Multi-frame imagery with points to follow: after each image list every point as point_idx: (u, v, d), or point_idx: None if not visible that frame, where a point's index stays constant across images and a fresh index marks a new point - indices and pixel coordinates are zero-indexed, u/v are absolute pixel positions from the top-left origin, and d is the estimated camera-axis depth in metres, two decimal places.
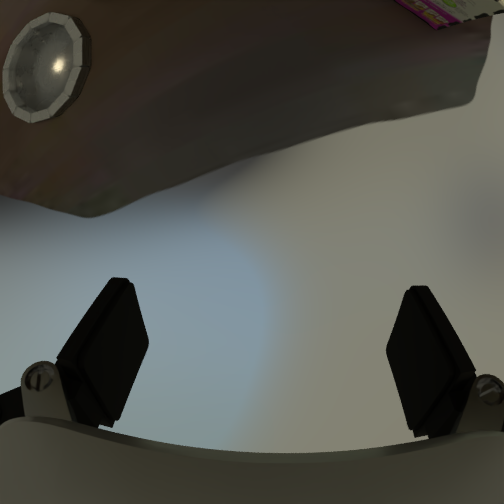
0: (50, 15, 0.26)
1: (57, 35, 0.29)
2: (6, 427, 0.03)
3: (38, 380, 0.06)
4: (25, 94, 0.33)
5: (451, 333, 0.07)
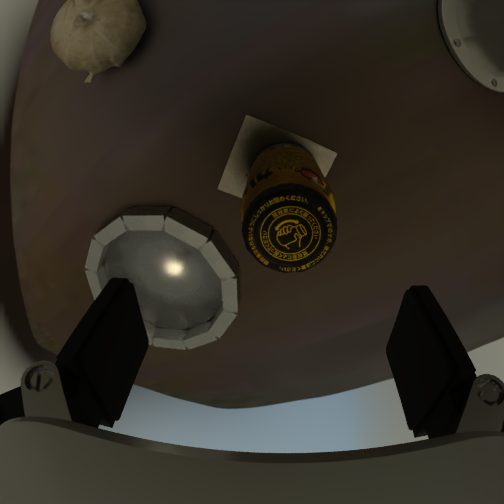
0: (167, 222, 0.27)
1: (179, 246, 0.30)
2: (6, 427, 0.03)
3: (38, 380, 0.06)
4: None
5: (451, 333, 0.07)
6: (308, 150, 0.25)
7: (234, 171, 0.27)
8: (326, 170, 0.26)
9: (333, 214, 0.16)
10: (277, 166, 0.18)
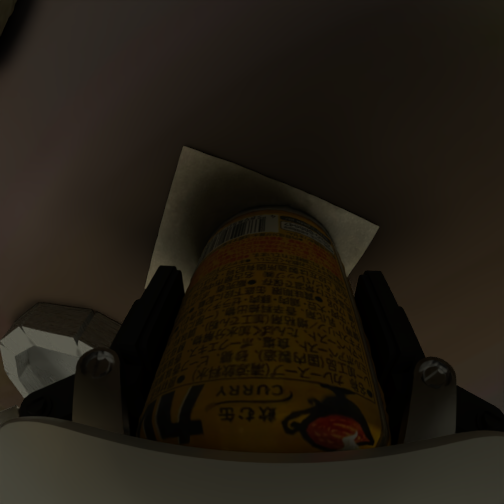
0: (81, 348, 0.14)
1: None
2: (6, 427, 0.03)
3: (95, 367, 0.07)
4: None
5: (397, 315, 0.08)
6: (320, 221, 0.12)
7: (170, 260, 0.14)
8: (354, 259, 0.13)
9: None
10: (220, 401, 0.05)
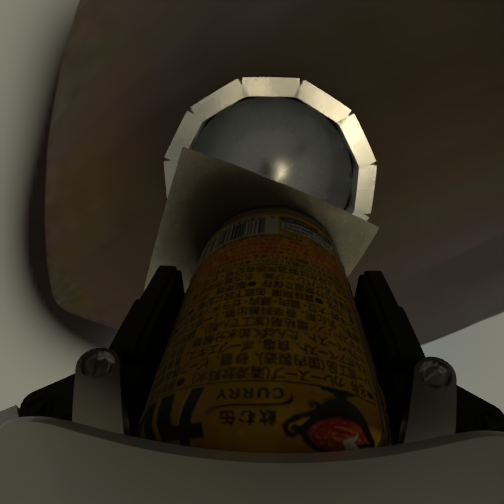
0: (303, 87, 0.20)
1: (303, 127, 0.23)
2: (6, 427, 0.03)
3: (95, 367, 0.07)
4: None
5: (397, 315, 0.08)
6: (320, 222, 0.12)
7: (169, 261, 0.14)
8: (354, 260, 0.13)
9: None
10: (220, 404, 0.05)
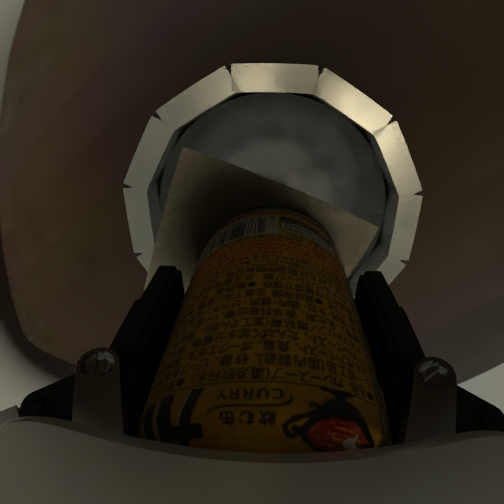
0: (324, 79, 0.13)
1: (321, 139, 0.16)
2: (6, 427, 0.03)
3: (95, 367, 0.07)
4: None
5: (397, 315, 0.08)
6: (320, 222, 0.12)
7: (169, 262, 0.14)
8: (354, 260, 0.13)
9: None
10: (220, 405, 0.05)
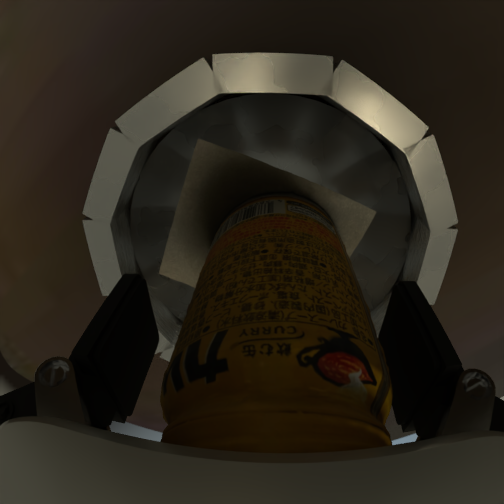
0: (341, 75, 0.09)
1: (333, 154, 0.12)
2: (6, 427, 0.03)
3: (52, 376, 0.06)
4: (184, 300, 0.17)
5: (437, 327, 0.07)
6: (322, 207, 0.13)
7: (184, 245, 0.15)
8: (354, 242, 0.14)
9: None
10: (243, 341, 0.06)
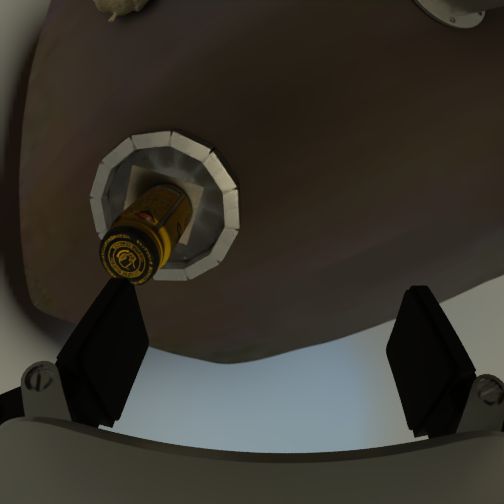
0: (173, 137, 0.28)
1: (182, 166, 0.31)
2: (6, 427, 0.03)
3: (38, 380, 0.06)
4: None
5: (451, 333, 0.07)
6: (181, 187, 0.32)
7: None
8: (197, 202, 0.33)
9: (149, 244, 0.23)
10: (125, 211, 0.25)
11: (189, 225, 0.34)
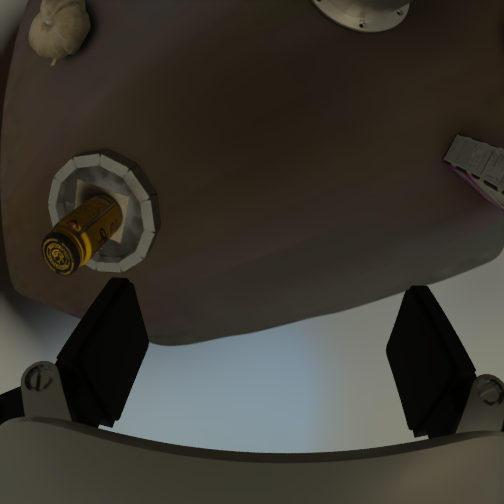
0: (101, 158, 0.34)
1: (113, 180, 0.37)
2: (6, 427, 0.03)
3: (38, 380, 0.06)
4: None
5: (451, 333, 0.07)
6: (112, 197, 0.38)
7: None
8: (125, 209, 0.38)
9: (70, 246, 0.28)
10: (60, 220, 0.30)
11: (121, 227, 0.40)
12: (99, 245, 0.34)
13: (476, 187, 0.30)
